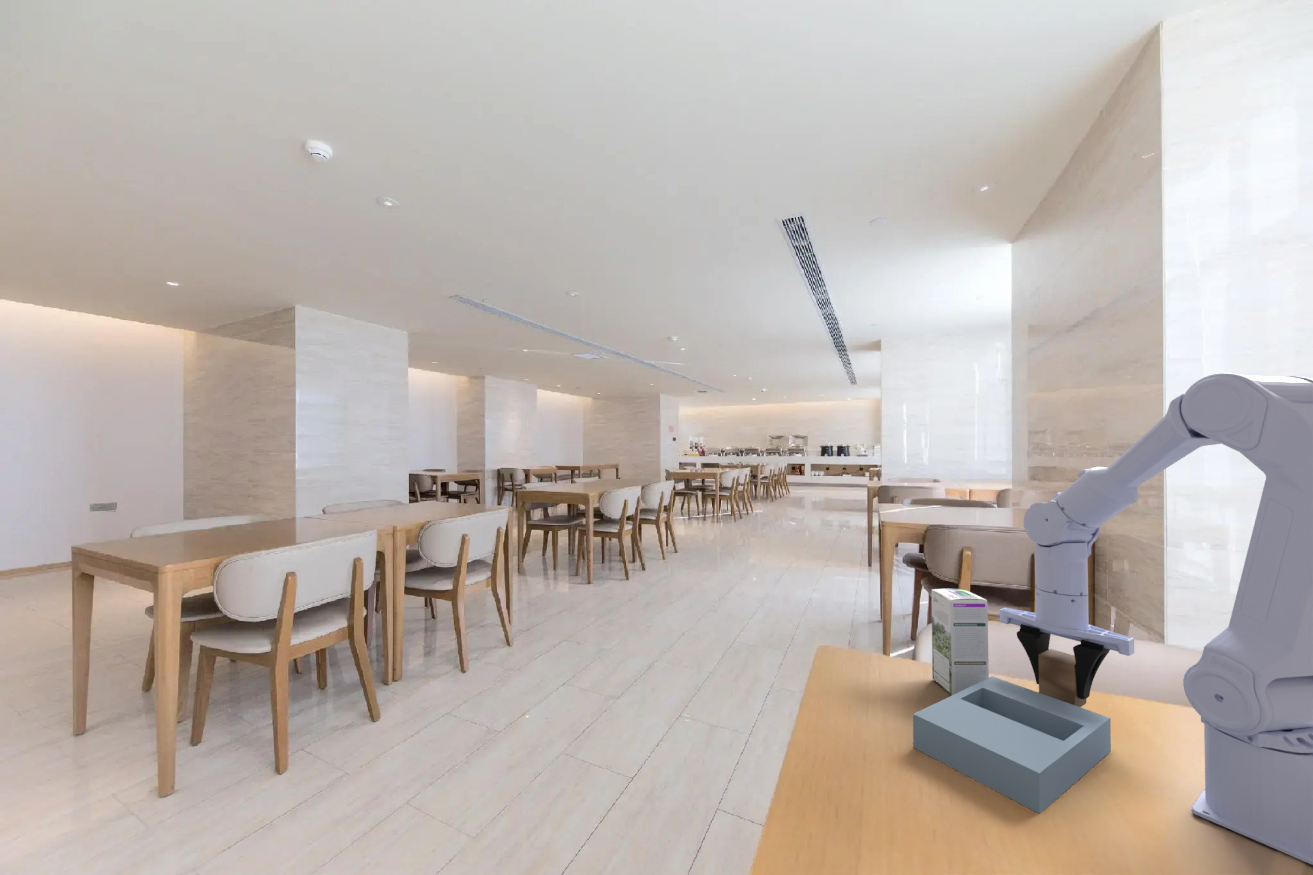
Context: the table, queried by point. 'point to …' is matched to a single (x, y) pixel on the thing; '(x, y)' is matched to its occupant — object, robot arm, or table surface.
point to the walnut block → (1059, 677)
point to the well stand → (1013, 740)
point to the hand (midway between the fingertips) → (1062, 689)
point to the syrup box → (959, 639)
